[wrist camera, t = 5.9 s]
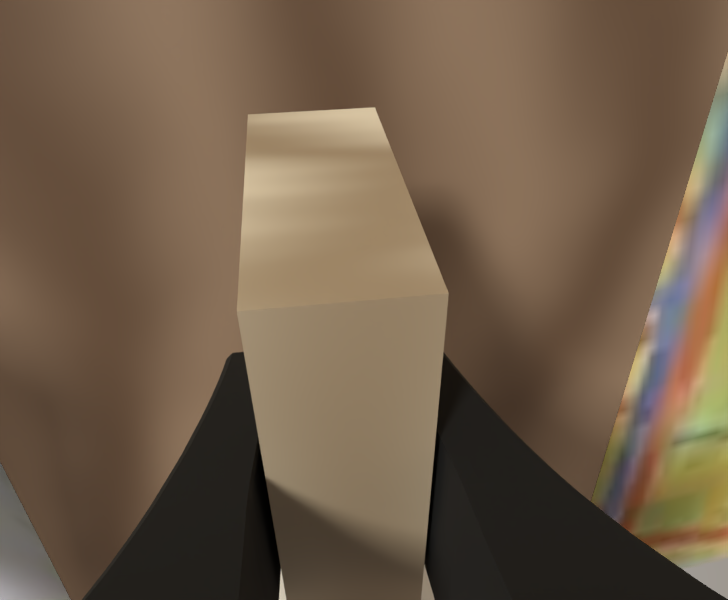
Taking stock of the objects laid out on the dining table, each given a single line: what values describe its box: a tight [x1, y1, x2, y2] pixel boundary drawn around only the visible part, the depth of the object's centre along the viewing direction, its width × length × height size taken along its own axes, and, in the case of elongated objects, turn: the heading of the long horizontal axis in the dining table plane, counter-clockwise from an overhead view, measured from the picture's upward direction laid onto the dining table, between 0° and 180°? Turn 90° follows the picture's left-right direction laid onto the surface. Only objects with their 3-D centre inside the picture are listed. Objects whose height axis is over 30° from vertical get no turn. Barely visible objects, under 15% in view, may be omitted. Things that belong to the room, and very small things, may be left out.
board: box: [0, 0, 728, 600], centre depth 18 cm, size 20×28×1 cm
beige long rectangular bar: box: [237, 107, 449, 600], centre depth 11 cm, size 2×11×5 cm, turn 1°
